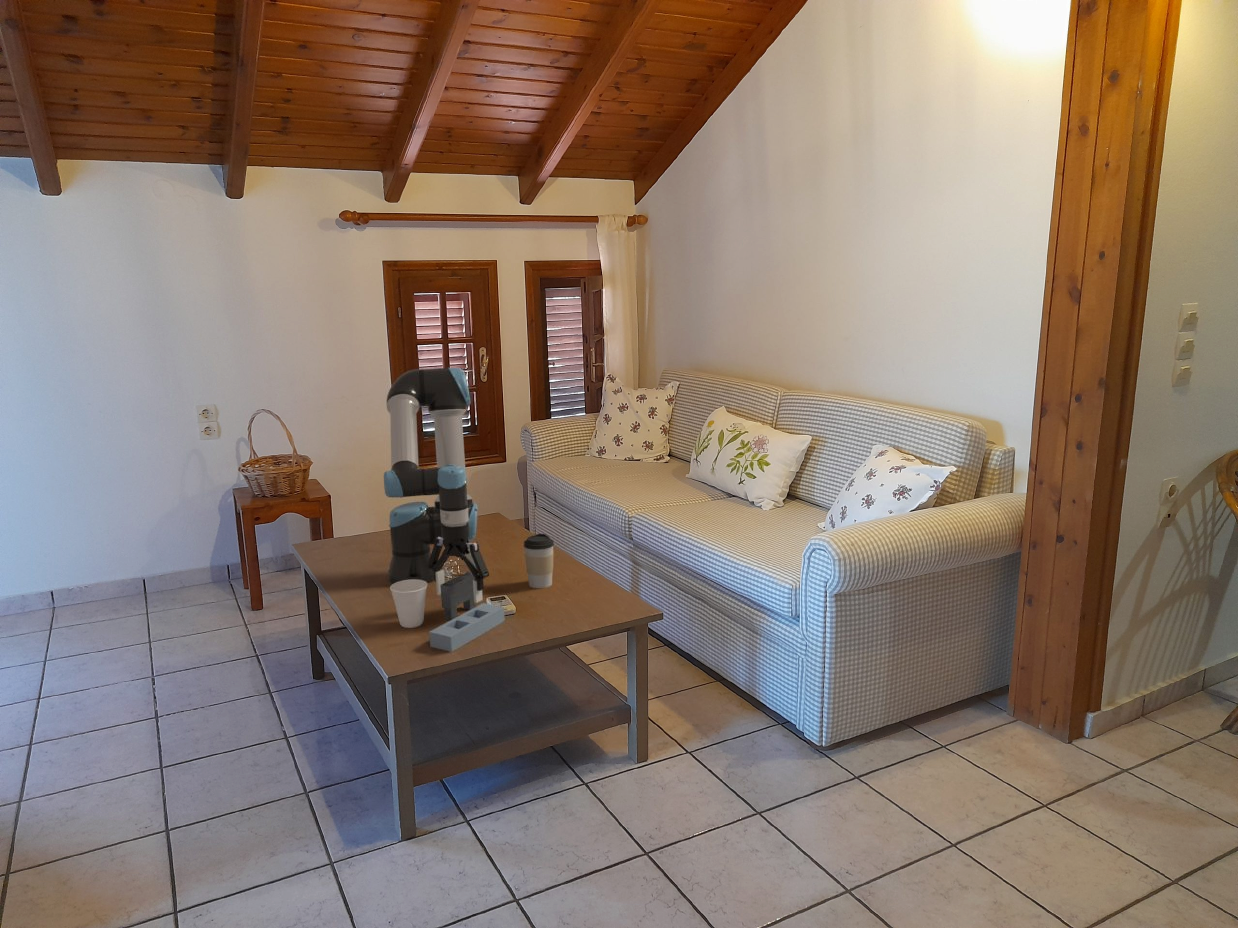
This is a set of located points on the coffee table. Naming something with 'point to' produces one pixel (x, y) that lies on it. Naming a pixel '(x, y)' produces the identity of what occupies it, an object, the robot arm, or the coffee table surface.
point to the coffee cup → (539, 560)
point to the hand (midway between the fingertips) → (459, 597)
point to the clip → (457, 594)
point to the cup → (410, 601)
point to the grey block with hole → (466, 627)
